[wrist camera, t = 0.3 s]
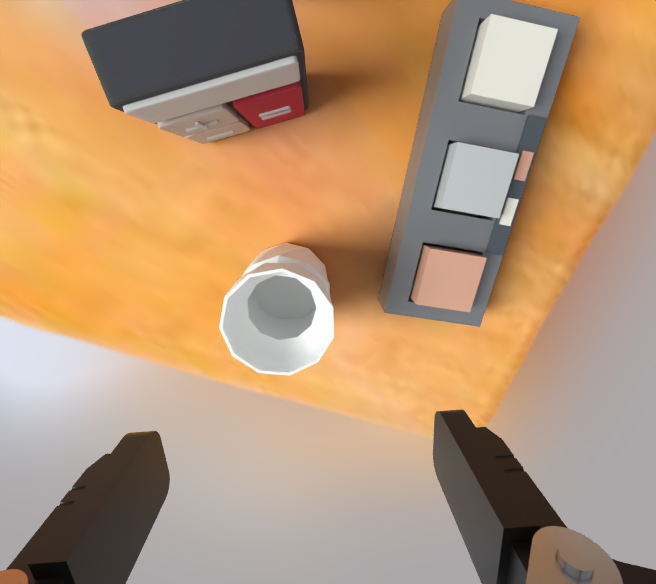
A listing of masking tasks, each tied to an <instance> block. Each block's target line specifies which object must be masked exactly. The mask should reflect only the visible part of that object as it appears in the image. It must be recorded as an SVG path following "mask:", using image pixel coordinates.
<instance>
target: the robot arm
mask: <svg viewBox="0 0 656 584" xmlns="http://www.w3.org/2000/svg"><path fill="white" fill-rule="evenodd" d="M433 460H434V467H435V471H436V475H437V477H438V480H439V482H440V485H441V487H442V490H443V492H444V495H445V497H446V499H447V502H448V504H449V506H450V509H451V511H452V514H453V516H454V518H455V521H456V523H457V525H458V528H459V530H460V533H461V535H462V537H463V540H464V542H465V545H466V547H467V549H468V552H469V554H470V557H471V559H472V561H473V564H474V566H475V568H476V571H477V573H478V576H479V578H480V580H481V583H482V584H656V570H653V569H648V568H644V567H640V566H636V565H631V564H627V563H623V562H619V561H616V560H613V559H611V558H610V556H609V555H608V554H607V553H606V552H605V551H604V550H603V549H602V548H601V547H600V546H599V545H597V544H596V543H595V542H593V541H592V540H591V539H589V538H587V537H586V536H584V535H582V534H580V533H578V532H576V531H574V530H571V529H568V528H567V527H566V526H565V524H564V523H563V522H562V521H561V519H560V517H559V516H558V515H557V514H556V512H555V511H554V509H553V508H552V507H551V505H550V504H549V503H548V501H547V500H546V498H545V497H544V496H543V494H542V493H541V492H540V490H539V489H538V488H537V486H536V485H535V483H534V482H533V481H532V479H531V478H530V477H529V475H528V474H527V473H526V472H524V470H523V467H522V466H521V464H520V463H519V462H518V460H517V459H516V458H514V455H513V454H512V452H511V451H510V449H509V448H508V447H507V445H506V444H505V443H504V441H503V440H502V439H501V438H499V437H498V436H497V435H495V434H494V433H493V432H491V431H490V430H489V429H487V428H486V427H478V428H476V427H475V426H474V424H473V423H472V421H471V420H470V418H469V417H468V415H467V414H466V412H465V411H464V410H450V411H437V412H436V414H435V422H434V444H433ZM169 481H170V478H169V470H168V466H167V462H166V458H165V454H164V450H163V446H162V442H161V438H160V435H159V433H158V432H157V431H150V432H136V433H128V434H126V435H125V436H124V437H123V438H122V440H121V441H120V443H119V444H118V445H117V446H116V448H115V449H114V450H113V452H112V453H111V454H105V455H104V456H102V457H101V458H100V459H99V460H97V461H96V462H95V463H94V464H92V465H91V466H90V467H89V468H87V469H86V470H85V472H84V473H83V474H82V475H81V477H80V478H79V479H78V480H77V482H76V483H75V484H74V485H73V487H72V490H71V491H69V492H68V493H67V494H66V495H65V497H64V498H63V499H62V500H61V502H60V505H59V506H57V507H56V508H55V509H54V511H53V512H52V513H51V514H50V515H49V517H48V518H47V519H46V520H45V522H44V523H43V524H42V525H41V527H40V528H39V529H38V531H37V532H36V533H35V534H34V536H33V537H32V538H31V539H30V540H29V542H28V543H27V544H26V546H25V547H24V548H23V549H22V551H21V552H20V553H19V554H18V556H17V557H16V558H15V559H14V561H13V562H12V563H11V564H10V566H9V567H8V568H7V569H6V570H4V571H0V584H126V581H127V579H128V577H129V575H130V573H131V571H132V569H133V567H134V565H135V562H136V560H137V558H138V556H139V554H140V552H141V550H142V547H143V545H144V543H145V541H146V539H147V537H148V535H149V533H150V530H151V528H152V526H153V524H154V522H155V520H156V518H157V516H158V514H159V511H160V509H161V507H162V505H163V503H164V501H165V499H166V496H167V493H168V489H169Z"/></svg>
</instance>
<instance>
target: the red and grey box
mask: <svg viewBox="0 0 656 584" xmlns="http://www.w3.org/2000/svg"><path fill="white" fill-rule="evenodd" d="M82 38H83V41H84V43H85V46H86V48H87V51H88V53H89V56H90V58H91V60H92V63H93V65H94V68H95V70H96V73H97V75H98V77H99V80H100V82H101V85H102V87H103V90H104V92H105V94H106V97H107V99H108V101H109V104H110V106H111V107H113V108H115V109H117V110H120V111H123V112H125V113H126V114H128V115H131V116H133V117H136V118H139V119H142V120H144V121H147V122H150V123H155V124H157V125H158V127H159V128H160V129H162V130H165V131H168V132H170V133H173V134H176V135H179V136H182V137H184V136H186V138H187V139H190V140H193V141H196V142H199V143H202V144H205V143H209V142H212V141H216V140H219V139H223V138H226V137H230V136H233V135H237V134H240V133H244V132H247V131H250V127H249V125H251V124H252V125H253V126H254V127H256V128H261V127H265V126H268V125H272V124H275V123H279V122H282V121H285V120H289V119H292V118H296V117H299V116H303V115H305V110H304V109H306V108H308V94H307V81H306V68H305V55H304V47H303V43H302V39H301V35H300V30H299V26H298V22H297V18H296V14H295V10H294V6H293V2H292V0H182V1H179V2H176V3H173V4H169V5H166V6H163V7H160V8H156V9H153V10H150V11H147V12H143V13H140V14H137V15H133V16H130V17H127V18H124V19H120V20H117V21H114V22H111V23H107V24H104V25H101V26H98V27H94V28H91V29H88V30H85V31H83V33H82Z"/></svg>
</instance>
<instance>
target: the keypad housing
mask: <svg viewBox="0 0 656 584" xmlns="http://www.w3.org/2000/svg"><path fill="white" fill-rule="evenodd" d="M491 14H494V15H499V16H503V17H507V18H512V19H516V20H520V21H525V22H529V23H533V24H538V25H542V26H546V27H550V28H555V29H558V31H557V34H556V38H555V41H554V44H553V47H552V50H551V54H550V57H549V60H548V63H547V66H546V70H545V73H544V76H543V79H542V83H541V86H540V89H539V92H538V95H537V99H536V102H535V105H534V107H532V108H529V109H526V110H523V111H521V112H518V113H513V112H508V111H503V110H498V109H493V108H488V107H484V106H479V105H474V104H469V103H464V102H459V97H460V93H461V89H462V85H463V81H464V77H465V73H466V69H467V65H468V61H469V57H470V54H471V50H472V46H473V42H474V38H475V34H476V30H477V27H478V26H479V25H480V24H481V23H482V22H483V21H484V20H485V19H486V18H487V17H489V16H490V15H491ZM579 20H580V17H577V16H573V15H569V14H565V13H561V12H556V11H552V10H548V9H544V8H539V7H535V6H531V5H527V4H522V3H518V2H514V1H510V0H452V1H451V3H450V4H449V5H448V7H447V8H446V9H445V11H444V12H443V13H442V17H441V22H440V26H439V31H438V35H437V40H436V44H435V48H434V53H433V57H432V62H431V66H430V71H429V75H428V80H427V84H426V89H425V93H424V97H423V102H422V106H421V111H420V115H419V120H418V124H417V129H416V133H415V137H414V142H413V146H412V151H411V155H410V160H409V164H408V169H407V173H406V178H405V182H404V186H403V191H402V195H401V200H400V204H399V209H398V213H397V218H396V222H395V226H394V231H393V235H392V240H391V244H390V249H389V253H388V258H387V262H386V267H385V271H384V275H383V280H382V284H381V289H380V293H379V298H378V301H379V302H380V304H381V306H382V308H383V310H384V312H385V313H391V314H397V315H404V316H411V317H418V318H424V319H431V320H438V321H445V322H451V323H458V324H465V325H471V326H478V327H480V325H481V322H482V319H483V316H484V313H485V310H486V306H487V303H488V300H489V297H490V294H491V291H492V288H493V285H494V282H495V279H496V276H497V273H498V269H499V266H500V263H501V260H502V257H503V254H504V251H505V248H506V245H507V242H508V239H509V236H510V232H511V229H512V226H513V223H514V220H515V217H516V214H517V211H518V208H519V205H520V202H521V199H522V196H523V192H524V189H525V186H526V183H527V180H528V177H529V174H530V171H531V168H532V165H533V162H534V159H535V155H536V152H537V149H538V146H539V143H540V140H541V137H542V134H543V131H544V128H545V125H546V122H547V118H548V115H549V112H550V109H551V106H552V103H553V100H554V97H555V94H556V91H557V88H558V85H559V81H560V78H561V75H562V72H563V69H564V66H565V63H566V60H567V57H568V54H569V51H570V48H571V44H572V41H573V38H574V35H575V32H576V29H577V26H578V23H579ZM456 142H461V143H466V144H471V145H476V146H481V147H486V148H492V149H497V150H502V151H507V152H512V153H517V154H519V156H518V160H517V163H516V166H515V169H514V173H513V176H512V179H511V182H510V185H509V189H508V192H507V195H506V198H505V201H504V205H503V208H502V211H501V214H500V218H494V217H488V216H482V215H477V214H471V213H466V212H460V211H454V210H449V209H443V208H438V207H433V206H432V204H433V200H434V196H435V192H436V188H437V184H438V180H439V176H440V172H441V169H442V165H443V161H444V157H445V153H446V149H447V145H449V144H453V143H456ZM422 244H429V245H435V246H441V247H447V248H453V249H459V250H465V251H471V252H474V253H477V254H479V255H481V256H484V257H486V258H487V259H486V263H485V266H484V269H483V272H482V275H481V279H480V282H479V285H478V288H477V291H476V295H475V298H474V301H473V304H472V308H471V311H470V312H463V311H457V310H450V309H444V308H437V307H430V306H424V305H417V304H415V303H414V301H413V300H412V299H411V298H410V297H409V295H410V291H411V288H412V284H413V280H414V276H415V272H416V268H417V264H418V260H419V256H420V252H421V248H422Z"/></svg>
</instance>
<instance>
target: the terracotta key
mask: <svg viewBox="0 0 656 584" xmlns="http://www.w3.org/2000/svg"><path fill="white" fill-rule="evenodd" d="M486 259H487V258H486V257H484V256H481V255H479V254H477V253H474V252H471V251H465V250H459V249H453V248H447V247H441V246H435V245H429V244H422V248H421V252H420V256H419V260H418V264H417V268H416V272H415V276H414V280H413V284H412V288H411V291H410V295H409V297H410V298H411V299H412V300H413V301H414V303H415V304H417V305H424V306H430V307H437V308H444V309H450V310H457V311H463V312H470V311H471V308H472V304H473V301H474V298H475V295H476V291H477V288H478V285H479V282H480V279H481V275H482V272H483V269H484V266H485V263H486Z"/></svg>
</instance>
